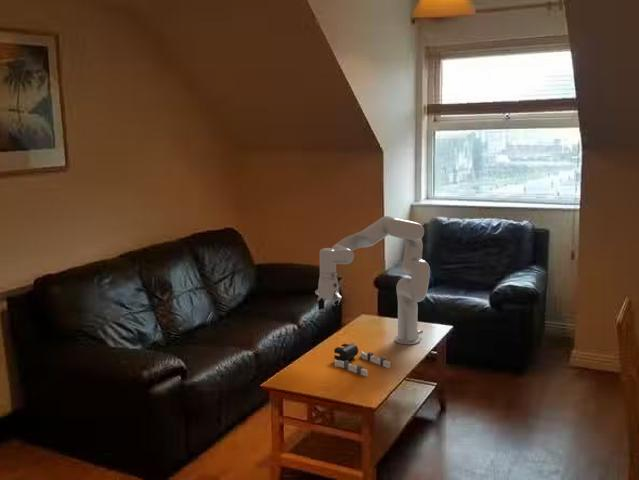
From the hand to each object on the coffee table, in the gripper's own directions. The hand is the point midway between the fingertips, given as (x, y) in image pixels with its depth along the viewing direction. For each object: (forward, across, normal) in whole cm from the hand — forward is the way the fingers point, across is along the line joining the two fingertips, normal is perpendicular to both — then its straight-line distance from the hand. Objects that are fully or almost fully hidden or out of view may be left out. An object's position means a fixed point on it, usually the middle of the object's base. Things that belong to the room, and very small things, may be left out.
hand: (328, 311), depth 312 cm
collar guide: (+21, -23, 0) cm, 31 cm away
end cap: (+21, -12, 0) cm, 24 cm away
